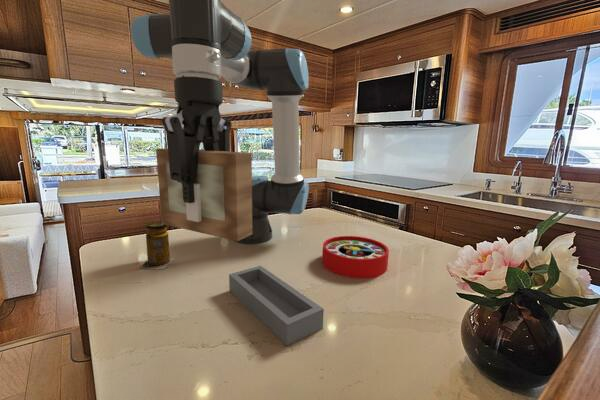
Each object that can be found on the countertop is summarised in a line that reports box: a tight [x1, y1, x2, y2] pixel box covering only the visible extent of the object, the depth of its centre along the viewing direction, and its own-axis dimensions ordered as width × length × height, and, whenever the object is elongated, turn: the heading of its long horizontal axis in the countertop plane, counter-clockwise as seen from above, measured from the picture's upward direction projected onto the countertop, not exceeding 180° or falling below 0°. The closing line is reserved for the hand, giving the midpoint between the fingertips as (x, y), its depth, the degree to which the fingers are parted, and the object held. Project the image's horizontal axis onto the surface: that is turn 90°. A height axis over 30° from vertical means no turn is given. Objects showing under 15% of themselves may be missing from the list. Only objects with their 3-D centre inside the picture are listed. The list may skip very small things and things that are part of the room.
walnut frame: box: [155, 147, 253, 242], centre depth 53 cm, size 18×4×14 cm, turn 63°
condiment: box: [138, 221, 176, 270], centre depth 90 cm, size 7×8×12 cm
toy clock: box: [321, 235, 390, 279], centre depth 94 cm, size 20×6×20 cm
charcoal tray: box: [228, 265, 325, 347], centre depth 69 cm, size 25×9×4 cm, turn 38°
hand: (204, 216), depth 54 cm, fingers closed on walnut frame, 4 cm apart
